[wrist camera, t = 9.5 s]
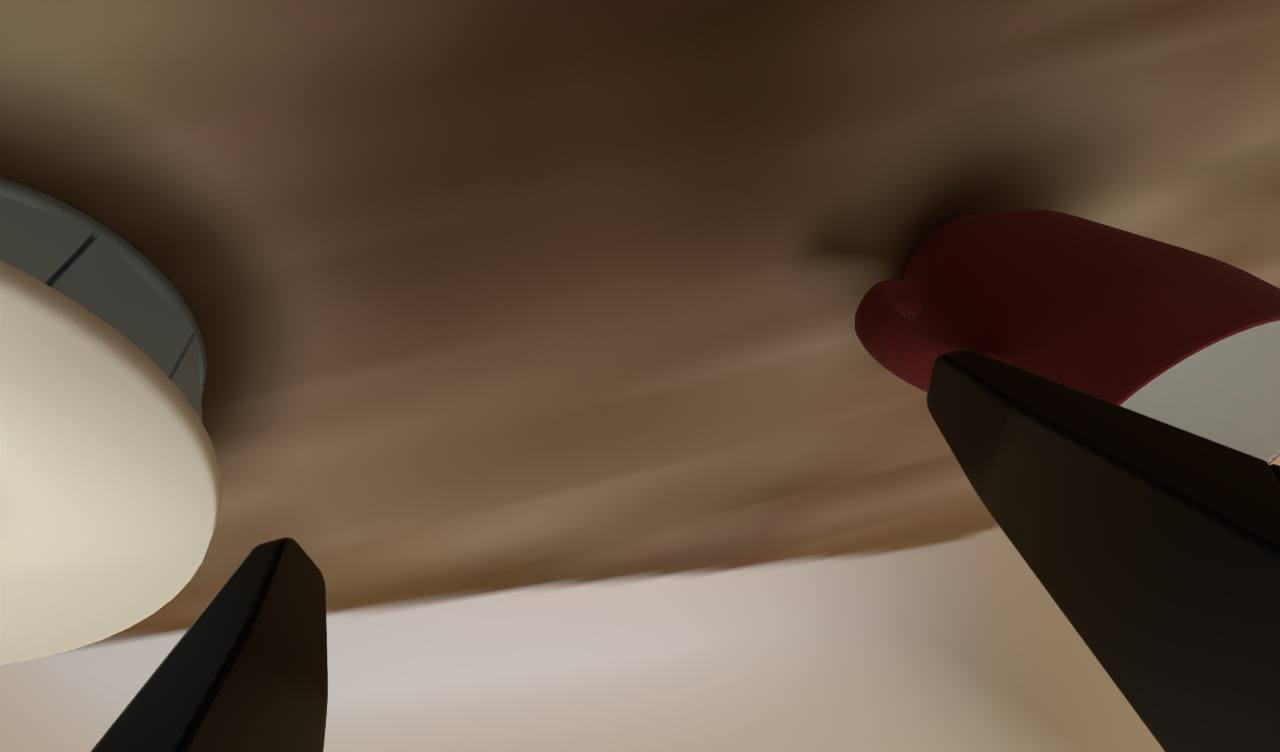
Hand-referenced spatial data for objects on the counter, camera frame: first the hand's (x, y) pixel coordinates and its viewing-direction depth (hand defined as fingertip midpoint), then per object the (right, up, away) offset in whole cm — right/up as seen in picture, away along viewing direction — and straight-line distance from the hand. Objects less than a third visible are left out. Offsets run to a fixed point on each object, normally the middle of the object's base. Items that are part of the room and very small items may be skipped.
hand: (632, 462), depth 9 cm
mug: (+10, +5, +15) cm, 19 cm away
